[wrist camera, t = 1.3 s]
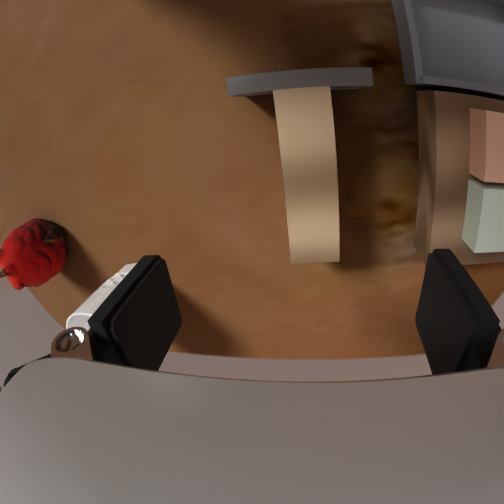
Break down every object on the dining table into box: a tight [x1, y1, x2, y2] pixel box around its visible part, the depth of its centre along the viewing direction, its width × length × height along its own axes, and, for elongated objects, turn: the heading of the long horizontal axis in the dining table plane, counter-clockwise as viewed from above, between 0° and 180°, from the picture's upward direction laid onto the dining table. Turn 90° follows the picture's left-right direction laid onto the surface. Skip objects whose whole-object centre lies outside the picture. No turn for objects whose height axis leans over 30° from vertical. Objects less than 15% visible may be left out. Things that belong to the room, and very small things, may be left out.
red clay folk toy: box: [0, 218, 67, 290], centre depth 27 cm, size 8×7×15 cm
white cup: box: [66, 263, 137, 331], centre depth 29 cm, size 8×8×10 cm
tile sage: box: [462, 179, 504, 253], centre depth 18 cm, size 5×5×2 cm
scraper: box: [226, 67, 374, 264], centre depth 22 cm, size 13×9×6 cm
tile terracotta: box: [469, 108, 504, 183], centre depth 16 cm, size 5×5×2 cm
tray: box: [391, 0, 504, 97], centre depth 15 cm, size 10×13×3 cm
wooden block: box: [414, 90, 504, 265], centre depth 20 cm, size 14×11×4 cm
